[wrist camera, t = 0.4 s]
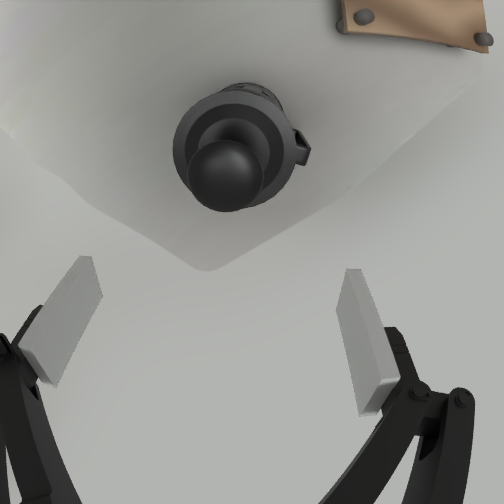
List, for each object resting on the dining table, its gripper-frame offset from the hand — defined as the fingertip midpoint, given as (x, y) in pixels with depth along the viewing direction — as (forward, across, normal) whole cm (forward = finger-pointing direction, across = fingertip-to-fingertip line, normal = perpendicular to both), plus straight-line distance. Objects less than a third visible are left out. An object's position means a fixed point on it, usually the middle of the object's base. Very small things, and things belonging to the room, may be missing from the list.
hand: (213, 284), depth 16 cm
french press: (+27, +1, +4) cm, 27 cm away
